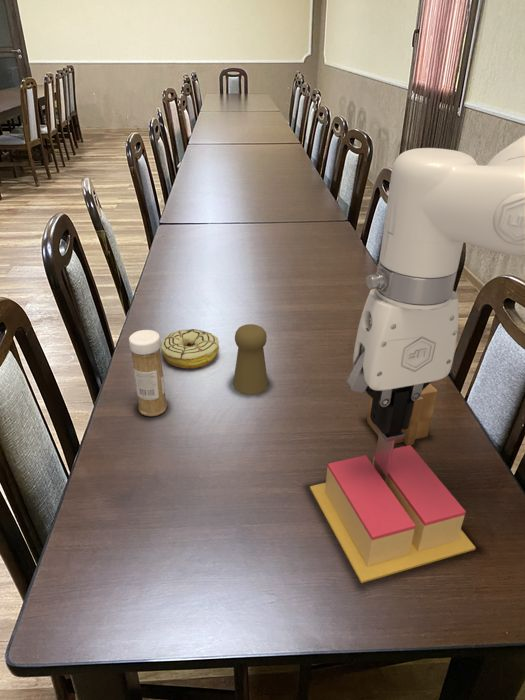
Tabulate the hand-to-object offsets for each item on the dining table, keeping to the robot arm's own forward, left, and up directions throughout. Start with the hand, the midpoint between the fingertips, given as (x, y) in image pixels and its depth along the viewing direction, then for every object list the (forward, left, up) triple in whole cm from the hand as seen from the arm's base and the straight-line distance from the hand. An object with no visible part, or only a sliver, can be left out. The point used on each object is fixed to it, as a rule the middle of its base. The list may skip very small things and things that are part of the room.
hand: (389, 423), depth 63 cm
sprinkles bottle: (+25, -28, -13) cm, 40 cm away
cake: (0, +3, -13) cm, 13 cm away
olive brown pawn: (+8, -30, -13) cm, 34 cm away
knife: (0, 0, -10) cm, 10 cm away
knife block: (-10, -12, -13) cm, 20 cm away
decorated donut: (+16, -42, -13) cm, 47 cm away
